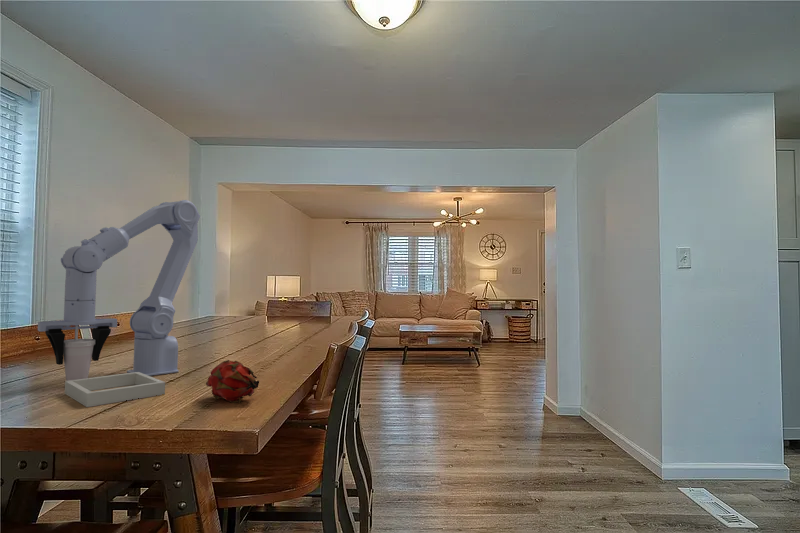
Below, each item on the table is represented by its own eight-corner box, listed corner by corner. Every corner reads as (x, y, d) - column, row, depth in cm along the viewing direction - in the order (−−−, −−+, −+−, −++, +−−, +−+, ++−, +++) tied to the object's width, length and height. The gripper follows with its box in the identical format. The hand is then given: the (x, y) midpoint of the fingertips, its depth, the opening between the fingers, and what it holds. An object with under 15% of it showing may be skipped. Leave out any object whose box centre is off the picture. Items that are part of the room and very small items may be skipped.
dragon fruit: (214, 401, 100) (252, 419, 94) (187, 383, 94) (226, 402, 88) (237, 365, 104) (276, 381, 98) (213, 346, 98) (253, 362, 91)
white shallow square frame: (138, 382, 107) (138, 371, 108) (164, 394, 98) (165, 382, 98) (64, 393, 97) (65, 381, 97) (86, 407, 88) (87, 393, 88)
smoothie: (52, 385, 103) (54, 321, 103) (81, 380, 109) (84, 318, 109) (71, 389, 100) (74, 322, 101) (100, 383, 106) (103, 320, 107)
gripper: (110, 298, 113) (108, 356, 113) (35, 300, 102) (32, 363, 102) (121, 300, 108) (119, 360, 108) (43, 301, 97) (41, 368, 97)
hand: (77, 362), depth 105 cm, fingers closed on smoothie, 6 cm apart
